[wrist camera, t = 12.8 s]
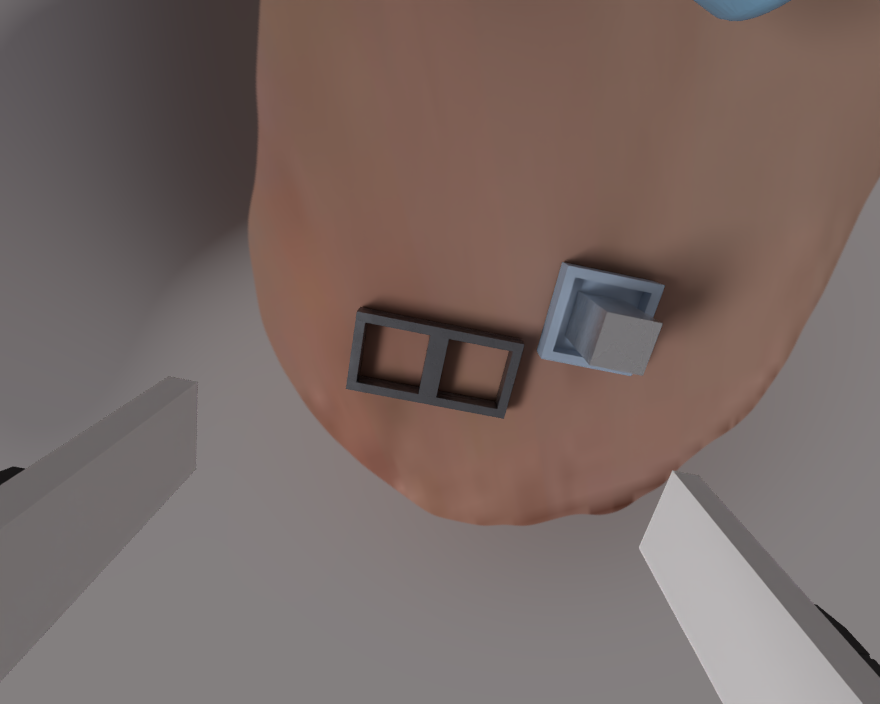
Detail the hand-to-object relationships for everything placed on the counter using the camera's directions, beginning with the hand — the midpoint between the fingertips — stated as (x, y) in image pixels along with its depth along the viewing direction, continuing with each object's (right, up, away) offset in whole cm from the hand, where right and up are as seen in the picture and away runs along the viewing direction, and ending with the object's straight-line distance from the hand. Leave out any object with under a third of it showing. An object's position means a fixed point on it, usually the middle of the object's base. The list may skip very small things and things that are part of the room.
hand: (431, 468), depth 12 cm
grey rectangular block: (+17, +7, +36) cm, 40 cm away
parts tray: (+17, +7, +36) cm, 40 cm away
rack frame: (0, +2, +38) cm, 38 cm away
